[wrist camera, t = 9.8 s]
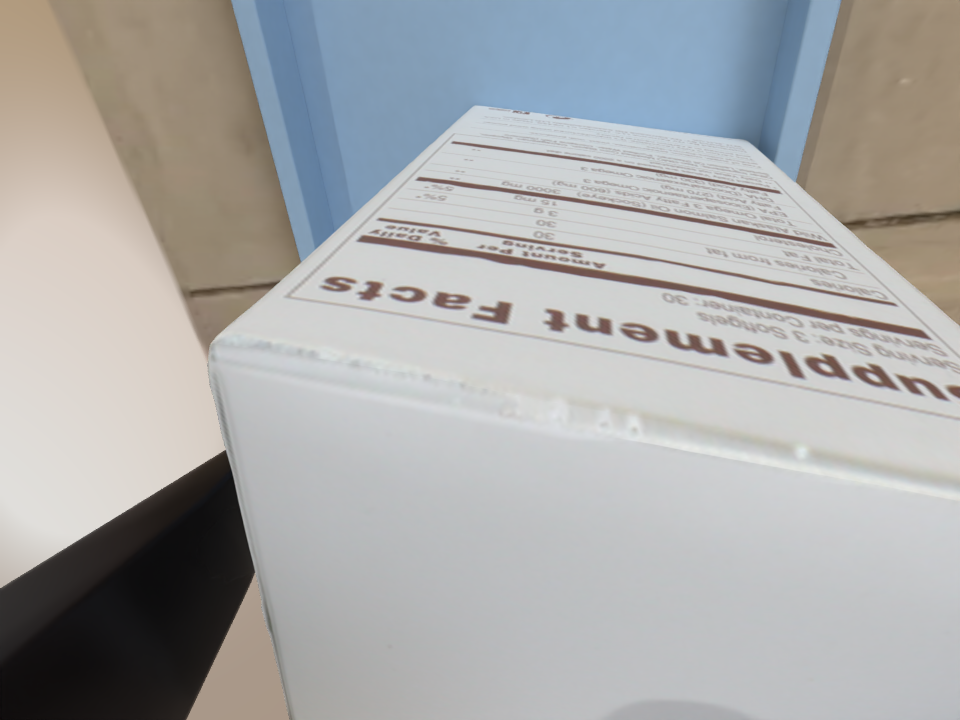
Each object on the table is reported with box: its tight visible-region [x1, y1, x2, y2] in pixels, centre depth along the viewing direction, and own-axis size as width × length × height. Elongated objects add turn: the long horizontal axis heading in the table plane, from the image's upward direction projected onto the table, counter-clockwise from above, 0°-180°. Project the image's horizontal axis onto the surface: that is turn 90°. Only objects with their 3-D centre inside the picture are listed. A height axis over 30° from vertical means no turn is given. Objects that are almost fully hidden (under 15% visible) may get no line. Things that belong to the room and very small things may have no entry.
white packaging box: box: [207, 105, 960, 720], centre depth 11 cm, size 7×7×13 cm
